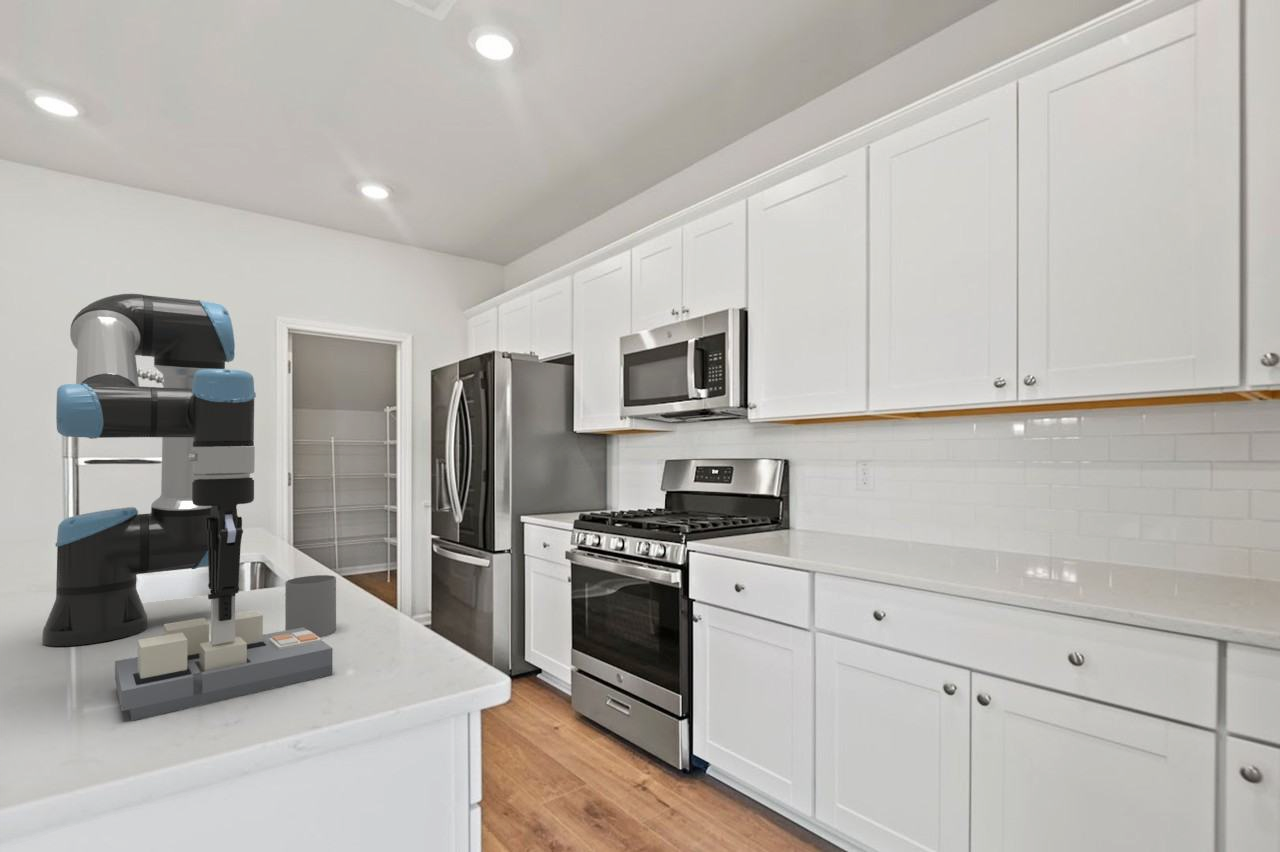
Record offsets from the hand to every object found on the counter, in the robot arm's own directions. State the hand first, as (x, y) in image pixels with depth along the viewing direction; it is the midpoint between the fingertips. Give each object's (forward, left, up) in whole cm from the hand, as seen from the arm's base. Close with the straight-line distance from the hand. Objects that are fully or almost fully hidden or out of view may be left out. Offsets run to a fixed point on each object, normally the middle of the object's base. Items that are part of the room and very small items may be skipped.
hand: (223, 641), depth 93 cm
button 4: (-8, +3, -2) cm, 9 cm away
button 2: (-8, -4, -2) cm, 9 cm away
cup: (-23, +18, -7) cm, 30 cm away
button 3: (0, 0, -4) cm, 4 cm away
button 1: (0, -7, -2) cm, 7 cm away
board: (-4, +2, -7) cm, 8 cm away
